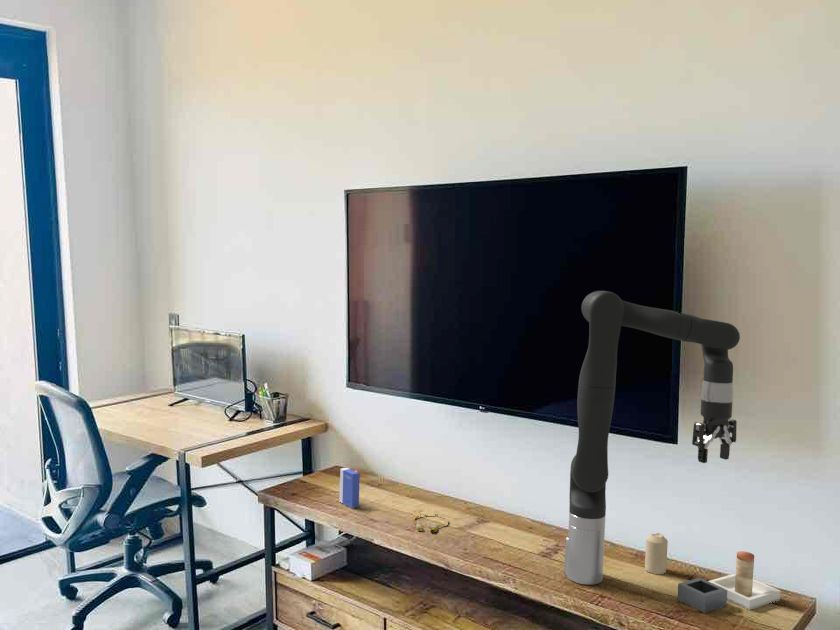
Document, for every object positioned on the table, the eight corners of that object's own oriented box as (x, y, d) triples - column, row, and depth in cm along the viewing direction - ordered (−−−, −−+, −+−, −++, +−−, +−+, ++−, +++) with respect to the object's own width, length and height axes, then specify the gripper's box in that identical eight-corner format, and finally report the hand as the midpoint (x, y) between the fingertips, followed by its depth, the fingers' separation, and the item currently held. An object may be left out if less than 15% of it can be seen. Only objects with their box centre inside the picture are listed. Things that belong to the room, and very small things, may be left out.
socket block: (677, 599, 179) (678, 583, 179) (699, 593, 184) (699, 577, 183) (704, 612, 173) (705, 596, 172) (726, 606, 177) (727, 590, 176)
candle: (654, 565, 201) (655, 529, 200) (670, 572, 196) (672, 535, 196) (640, 568, 198) (642, 532, 197) (656, 576, 193) (658, 539, 193)
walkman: (358, 507, 242) (359, 471, 241) (352, 508, 240) (352, 473, 240) (345, 501, 248) (346, 466, 247) (339, 502, 246) (339, 467, 246)
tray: (707, 590, 185) (707, 581, 185) (737, 581, 191) (737, 572, 191) (749, 610, 175) (749, 600, 175) (779, 600, 181) (780, 590, 181)
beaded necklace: (398, 528, 225) (399, 521, 225) (426, 515, 238) (426, 509, 238) (432, 537, 218) (432, 530, 218) (458, 523, 231) (459, 516, 231)
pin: (731, 591, 184) (733, 552, 183) (741, 588, 185) (743, 550, 185) (744, 598, 180) (747, 558, 179) (755, 595, 182) (757, 556, 181)
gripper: (722, 394, 195) (719, 454, 196) (686, 398, 188) (683, 460, 189) (747, 399, 189) (743, 461, 189) (710, 403, 181) (707, 467, 182)
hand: (713, 460), depth 189 cm, fingers open, 8 cm apart
